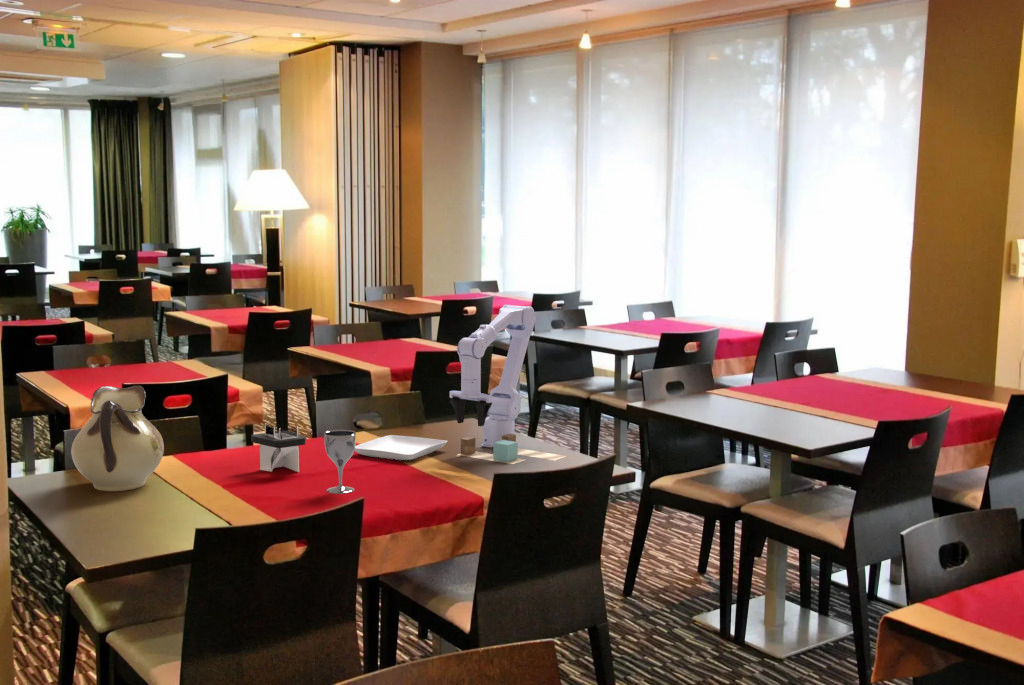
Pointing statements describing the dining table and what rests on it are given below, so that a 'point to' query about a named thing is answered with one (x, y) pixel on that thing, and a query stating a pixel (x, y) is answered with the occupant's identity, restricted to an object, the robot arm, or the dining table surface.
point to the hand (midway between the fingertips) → (470, 424)
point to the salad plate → (399, 447)
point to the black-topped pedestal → (279, 448)
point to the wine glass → (340, 453)
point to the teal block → (505, 451)
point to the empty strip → (532, 453)
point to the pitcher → (117, 441)
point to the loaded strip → (469, 451)
